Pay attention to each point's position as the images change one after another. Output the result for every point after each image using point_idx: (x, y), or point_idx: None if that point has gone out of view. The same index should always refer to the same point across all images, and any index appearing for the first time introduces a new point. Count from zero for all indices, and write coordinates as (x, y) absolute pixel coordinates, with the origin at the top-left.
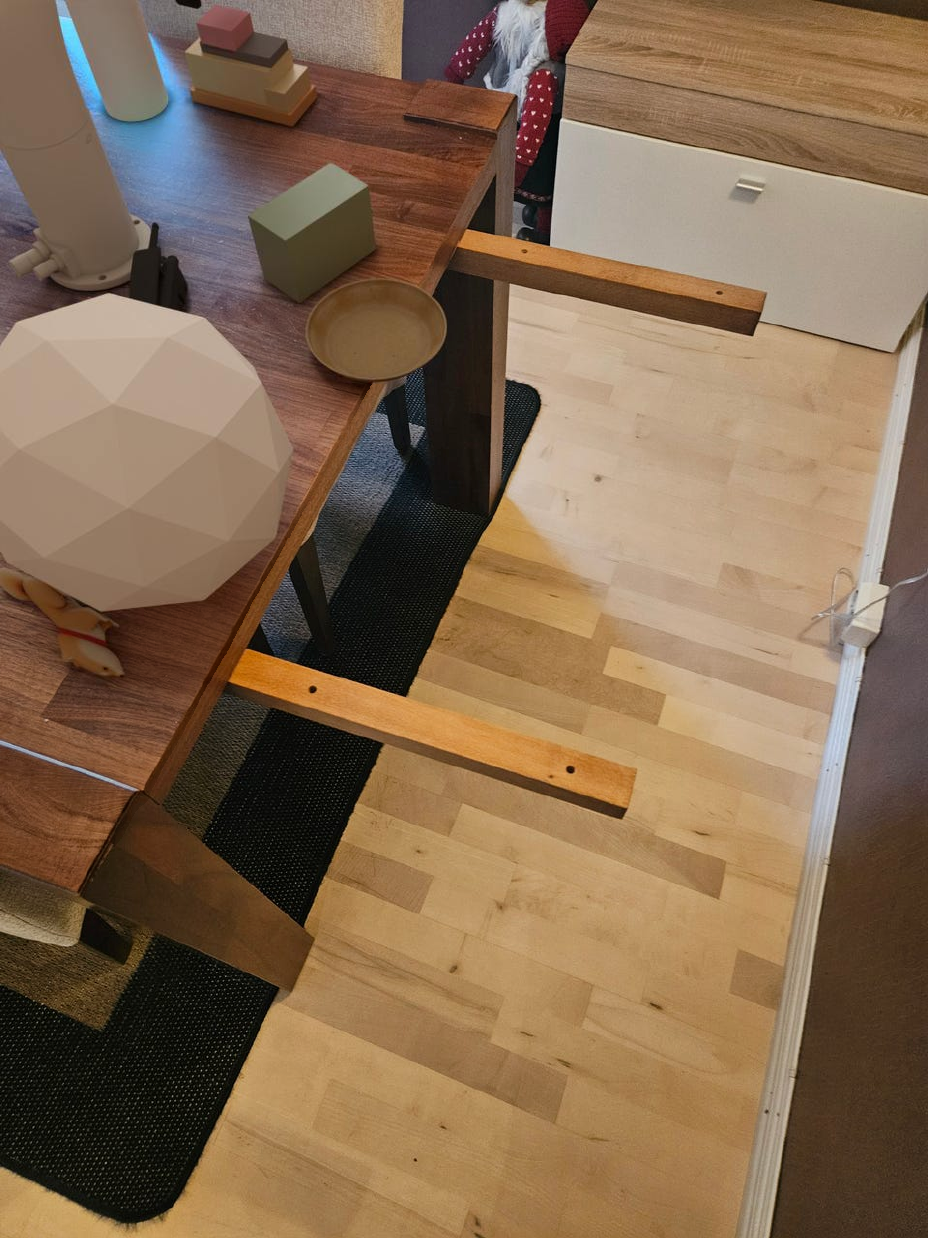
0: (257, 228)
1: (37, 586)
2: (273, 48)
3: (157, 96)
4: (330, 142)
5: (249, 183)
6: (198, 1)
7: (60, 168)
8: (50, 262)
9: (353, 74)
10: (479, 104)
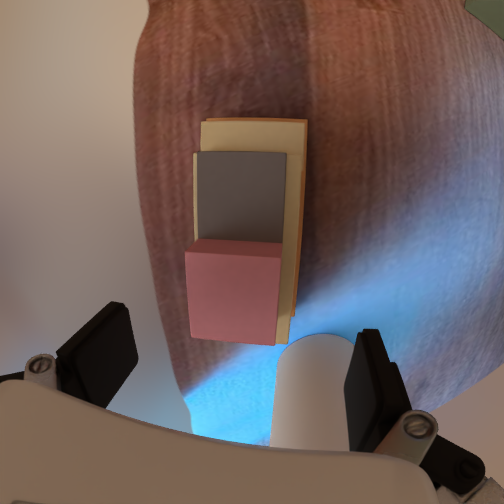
0: None
1: None
2: (243, 162)
3: (332, 346)
4: (321, 50)
5: (450, 138)
6: (380, 336)
7: None
8: None
9: (136, 101)
10: None
